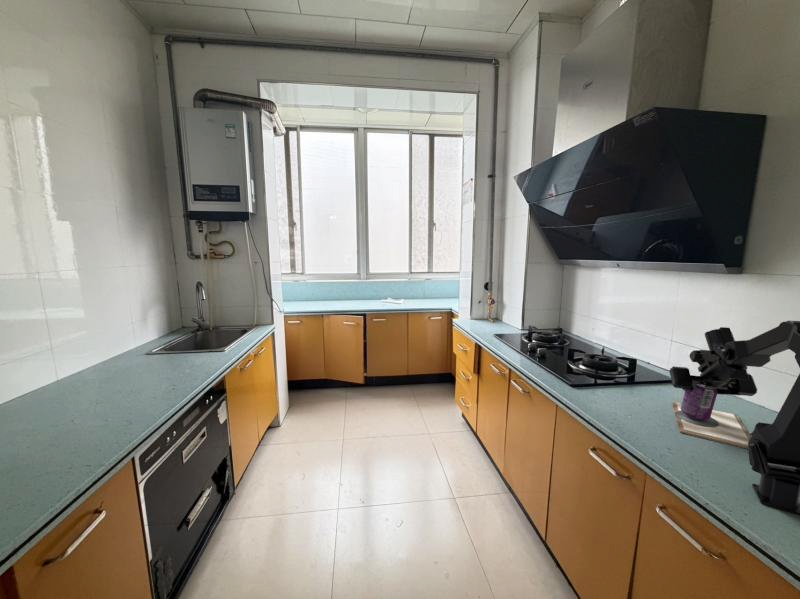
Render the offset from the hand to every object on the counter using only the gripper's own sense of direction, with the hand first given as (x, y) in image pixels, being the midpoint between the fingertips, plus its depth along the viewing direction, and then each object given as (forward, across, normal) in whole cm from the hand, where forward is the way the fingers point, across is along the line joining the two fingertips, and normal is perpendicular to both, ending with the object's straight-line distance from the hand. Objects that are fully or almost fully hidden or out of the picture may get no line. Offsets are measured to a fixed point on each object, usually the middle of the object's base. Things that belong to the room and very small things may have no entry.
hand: (698, 390), depth 102 cm
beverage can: (+6, 0, +6) cm, 8 cm away
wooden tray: (+5, -3, +8) cm, 10 cm away
